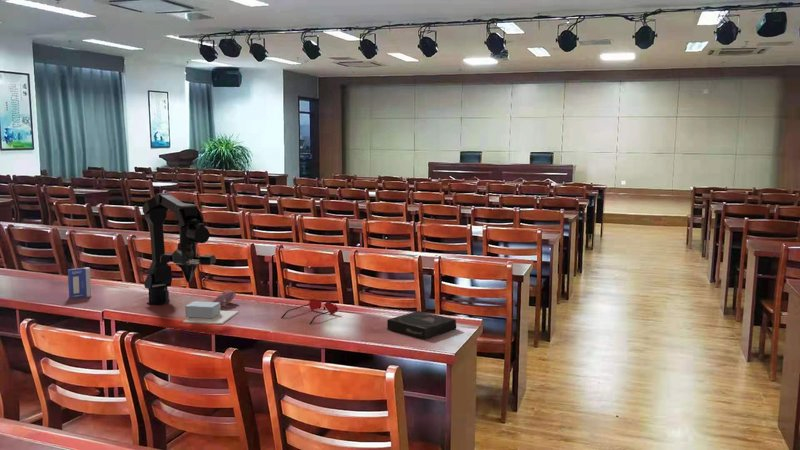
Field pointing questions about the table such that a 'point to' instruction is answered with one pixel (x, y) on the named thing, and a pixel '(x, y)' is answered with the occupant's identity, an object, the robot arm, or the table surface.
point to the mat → (217, 319)
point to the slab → (202, 309)
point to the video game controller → (225, 297)
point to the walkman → (79, 282)
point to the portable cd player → (421, 325)
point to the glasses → (317, 304)
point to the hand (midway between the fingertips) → (188, 282)
